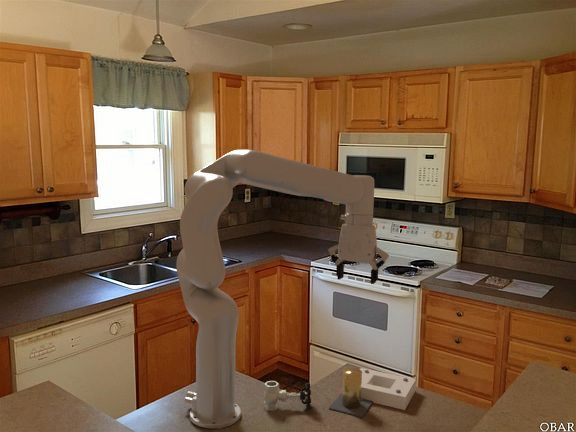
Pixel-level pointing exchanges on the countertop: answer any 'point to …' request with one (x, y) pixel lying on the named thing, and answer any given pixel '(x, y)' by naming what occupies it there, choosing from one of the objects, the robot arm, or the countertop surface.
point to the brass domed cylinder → (352, 388)
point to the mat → (356, 412)
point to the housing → (387, 388)
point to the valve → (283, 395)
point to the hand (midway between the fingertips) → (356, 280)
